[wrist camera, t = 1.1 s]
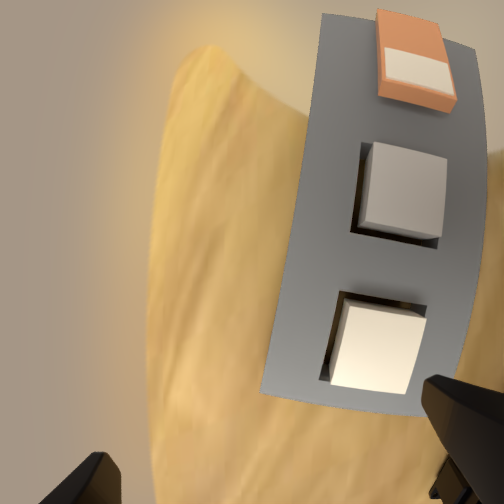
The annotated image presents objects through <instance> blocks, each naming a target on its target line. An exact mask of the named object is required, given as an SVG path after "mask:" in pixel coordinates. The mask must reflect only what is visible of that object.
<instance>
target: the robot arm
mask: <svg viewBox="0 0 504 504" xmlns="http://www.w3.org/2000/svg"><path fill="white" fill-rule="evenodd" d="M421 404H422V407H423V409H424V411H425V413H426V415H427V416H428V418H429V420H430V422H431V424H432V426H433V428H434V430H435V431H436V433H437V435H438V437H439V439H440V441H441V443H442V444H443V446H444V447H445V449H446V450H447V452H448V453H449V455H450V457H449V459H448V460H447V462H446V464H445V465H444V467H443V469H442V471H441V473H440V475H439V476H438V478H437V480H436V482H435V484H434V486H433V487H432V489H431V491H430V492H429V497H430V499H441V500H442V502H443V504H504V393H500V392H497V391H493V390H490V389H486V388H483V387H479V386H476V385H472V384H469V383H465V382H462V381H459V380H455V379H452V378H449V377H446V376H442V375H439V374H435V375H432V376H430V377H428V378H426V379H425V380H424V382H423V388H422V395H421ZM435 493H436V494H435ZM39 504H122V502H121V472H120V470H119V468H118V467H117V465H116V464H115V463H114V462H113V460H112V459H111V457H110V456H109V454H108V453H106V452H93V453H91V454H90V455H89V456H88V457H87V458H86V459H85V460H84V461H83V462H82V463H81V464H80V465H79V466H78V467H77V468H76V469H75V470H74V471H73V472H72V473H71V474H70V475H68V477H66V478H65V479H64V480H63V481H62V482H61V483H60V484H59V485H58V486H57V487H56V488H55V489H54V490H53V491H52V492H51V493H50V494H48V495H47V496H46V497H45V498H44V499H43V500H42V501H41V502H40V503H39Z"/></svg>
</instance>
